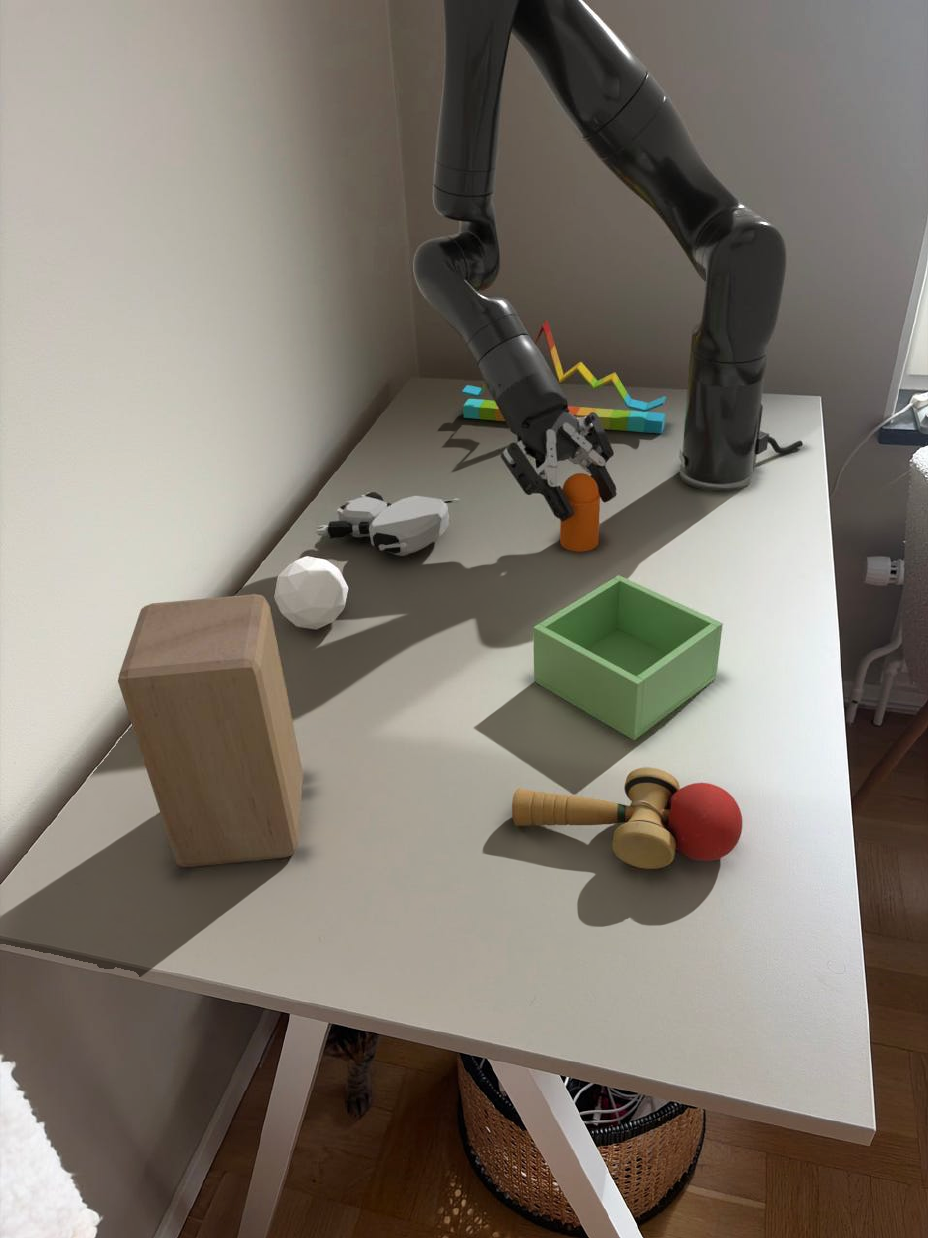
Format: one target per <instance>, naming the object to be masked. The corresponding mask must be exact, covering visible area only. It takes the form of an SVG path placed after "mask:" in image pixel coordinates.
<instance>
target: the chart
mask: <svg viewBox="0 0 928 1238" xmlns="http://www.w3.org/2000/svg"><path fill="white" fill-rule="evenodd" d="M543 333H544V336H545V340H546V343H547V346H548V349H549V353H550V356H551V361H552V363H553V366H554V369H555V373H556V376H557V381H558V384H560V383H562V382H563V381H565V380H566V379H567V378H569V377H570V376H572V375H573V374H574V373H575V372H578V374H580V376H581V377H582V378H583V379H584V380H585V381H586V382H587V384H588V385H589V386H590V387H591V388H592V389H593V390H597V389H599V388H601V387H603V386H605V385H608V384H609V383H612V385H613V386H614V388H615V390H616V392H617V393H618V394H619V396H620V397H621V400H622V401H623V403H624V405H625V406H626V407H627V409H629V410H624V409H610V408H598V407H597V408H596V407H584V406H583V407H582V406H570V405H568V409H569V411H570V412H571V414H573V415H574V416H575V417H576V418H582V417H586V416H587V415H589V414H590V413H591V412H595V413H596V414H597V415H598V417H599V420H600V422H601V424H602V426H603V429H604V430H609V431H610V430H611V431H625V432H636V433H649V434H663V431H664V429H665V423H666V412H653V410H654V409H657V408H659V407H662V406H664V404H665V402H666V398H667V395H664V396H662V397H659V398H656V399H654V400H652V401H650V402H646V401H642V400H638V399H634V398H632V397H631V396H630V395H629V393H628V391H627V390H626V388H625V387H624V385H623V382H622V381H621V380H620V378H619V377H618V375H617V373H616V372H612V373H611V374H608V375H606V376H605V377H602V378H601V379H597V378H596V377H595V376H594V374H592V373H591V371H590V370H589V368H587V367H586V366H585V364H584V363H583V362H582V361H579V362H578V363H576V364H575V365H573V367H571V368H570V369H569V370H567V371H566V372H565V373H564V371H563V368H562V364H561V361H560V357H559V354H558V351H557V348H556V343H555V341H554V337H553V334H552V331H551V327H550V324H549V321H548V320H547V319H546V320H545V322H543V325H542V326H541V328H540V331H539V333H538V335H537V337H536V340H535V341H534V343H535V345H536V346H537V347H538V345H539V342H540V340H541V338H542V336H543ZM486 388H487V386H486V384H485V382H484V383H483V385H482V387H478V386H474V385H470V384H467V385H466V386H465V387H464V388H463V389H462V390H461V394H463V395H468V396H471V397H476V398H467V400H466V401H465V402H464V404H463V405H462V412H463V414H462V415H463V418H464V419H476V420H477V419H478V420H487V421H499V422H506V421H505V419H504V417H503V416H502V414H501V412H500V410H499V408H498V407H497V405H496V403H495V401H494V400H491V399H478V398H479V397H480V396H481V395H482V393H483V392H484V391H485V389H486ZM651 411H652V412H651Z"/></svg>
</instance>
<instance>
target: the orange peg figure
mask: <svg viewBox="0 0 928 1238" xmlns="http://www.w3.org/2000/svg"><path fill="white" fill-rule="evenodd" d="M561 488H562V490H563V492H564V494H565V496H566V497H567V499H568V501H569V503H570V505H571V507H572V508H573V510H574V515H573V516H572V517H570V518H569V519H567V520H565V521H561V520H560V519H559V522H560V525H559V528H560V529H559V531H560V532H559V533H560V534H559V541H560V545H561V546H562V548H564V549H565V550H568V551H571V552H579V553H580V552H583V553H584V552H589V551H591V550H593V549H595V548H597V546H598V545H599V540H600V537H599V536H600V505H601V504H600V503H601V498H600V494H599V492H598V486H597V483H596V481H595V480H594V479H593V478H592V477H591V475H590V474H587V473H584V472H576V473H573V474H572V475H570V476H568V478H567V479H566V480H565V481H564V482H563V485H562V487H561Z"/></svg>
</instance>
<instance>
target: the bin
mask: <svg viewBox="0 0 928 1238" xmlns="http://www.w3.org/2000/svg"><path fill="white" fill-rule="evenodd" d="M532 633H533V635H532V636H533V682H535V683H536V684H537V685H539V686H541V687H543V688H544V689H546V690H548V691H549V692H551V693H553V694H554V695H556V696H558V697H560V698H561V699H563V700H564V701H566V702H568V703H570V704H571V705H573V706H575V707H576V708H579V709H580V710H582V711H583V712H585V713H587V714H588V715H589V716H591V717H594V718H595V719H597V720H598V721H600V722H602V723H603V724H605V725H607V726H609V727H610V728H612V729H614V730H615V731H617V732H619V733H621V735H624V736H626V737H627V738H629V739H630V740H632V741H636V740H637V739H638V738H640V737H641V736H642V735H644V734H645V733H646V732H647V731H649V730H650V729H652V728H654V726H656V725H657V724H658V723H659V722H661V721H662V720H663V719H665V718H666V717H668V715H670V714H671V713H672V712H674V711H676V710H677V709H679V707H681V706H682V705H683V704H685V703H686V702H687V701H688V700H690V699H691V698H692V697H693V696H695V695H696V694H697V693H699V692H700V691H702V690H703V688H705V687H706V686H708V685H709V684H711V683H712V682H713V681H714V680H716V679H717V673H718V665H719V656H720V649H721V640H722V633H723V622H720V621H719V620H717V619H714V618H712V617H710V616H708V615H706V614H704V613H702V612H699V611H697V610H695V609H694V608H690V607H689V606H687V605H684V604H682V603H680V602H678V601H676V600H674V599H671V598H669V597H667V596H665V595H663V594H661V593H658V592H656V591H653V590H651V589H650V588H647V587H645V586H643V585H641V584H639V583H637V582H635V581H633V580H630V579H628V578H626V577H624V576H622V575H620V574H617V575H616V576H615V577H613V578H612V579H610V580H608V581H606V582H605V583H603V584H602V585H600V586H599V587H597V588H595V589H594V590H591V591H590V592H588V593H587V594H585V595H583V596H582V597H580V598H579V599H577V600H576V601H573V602H572V603H570V604H569V605H567V606H566V607H564V608H562V609H561V610H559V611H557V612H556V613H555V614H552V615H551V616H549V617H548V618H546V619H545V620H543V621H541V622H539V623H537V624H536V625H534V626H533V629H532Z"/></svg>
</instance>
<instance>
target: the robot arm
mask: <svg viewBox="0 0 928 1238" xmlns="http://www.w3.org/2000/svg"><path fill="white" fill-rule="evenodd" d="M442 7H443V22H444V63H443V64H444V65H443V77H442V78H443V80H442V90H441V100H440V106H439V107H440V108H439V115H438V123H437V131H436V142H435V153H434V168H433V182H432V205H433V207H434V210H435V211H436V212H437V213H438V214H439V216H442V217H443V218H445V219H449V220H452V221H457V222H459V230H458V233H453V234H449V235H444V236H440V237H434V238H431V239H428V240H426V241H424V242H422V243H421V244H420V245H419V246H418V247H417V249H416V251H415V252H414V255H413V260H412V273H413V276H414V281H415V283H416V285H417V287H418V289H419V292H420V293H421V295H422V296H423V298H424V299H425V300H426V301H427V302H428V304H429V305H430V306H431V307H432V309H434V310H435V311H436V312H437V313H438V314H439V316H441V317H442V318H443V319H444V320H445V322H446V323H447V324H448V325H449V326H450V327H451V328H452V329H453V331H455V332H456V333H457V334H458V335H459V336H460V337H461V338H462V339H463V341H464V343H465V345H466V347H467V349H468V352H469V353H470V354H471V357H472V359H473V360H474V362H475V364H476V366H477V367H478V369H479V372H480V375H481V376H482V379H483V382H484V383H485V384H486V388H487V390H488V392H489V394H490V395H491V397H492V399H493V401H495V403H496V405H497V407H498V408H499V410H500V412H501V414H502V416H503V417H504V419H505V421H504V422H505V424H506V425H507V427H508V429H509V430H510V432H511V433H512V434H514V435H516V438H517V442H511V443H509V444H508V445H507V446H506V448H504V450H503V451H501V453H500V459H501V460H502V461H503V463H504V464H505V466H506V467H507V469H508V470H509V472H510V473H511V475H512V476H513V478H514V480H515V481H516V482H517V483H518V485H519V486H520V488H521V490H522V491H523V493H524V494H525V495H527V496H531V495H533V494H540V495H541V496H543V498H544V499H545V501H546V502H547V505H548V506H549V508H550V510H551V512H552V514H553V515H554V517H556V519H559V521H560V520H561V521H565V520H567V519H569V518H570V517H572V516H573V515H574V510H573V508H572V507H571V505H570V503H569V501H568V499H567V497H566V496H565V494H564V492H563V490H562V488H563V487H561V485H558V479H557V478H558V477H557V467H558V462H564V461H566V460H568V461H569V462H570V463H572V464H573V465H578V466H579V467H581V469H583V470H584V471H585V472H587V473H588V475H590V476H591V477H592V478H593V479H594V480H595V481H596V483H597V486H598V492H599V494H600V500H601V502H603V503H608V502H610V501H611V500H613V499H614V498H615V497H616V496H617V486H616V483H615V482H614V480H613V479H612V477H611V474H610V473H609V471H608V469H607V466H606V464H607V462H608V461H609V459H611V458H612V457H613V456H614V454H615V453H614V450H613V447H612V445H611V443H610V440H609V438H608V435H607V434H606V431H605V429H603V426H602V424H601V422H600V420H599V417H598V415H597V414H596V413H595V412H591V413H590V414H589V415H587V416H586V417H582V418H576V417H575V416H574V415H573V414H571V412H570V411H569V409H568V406H569V404H568V398H567V396H566V395H565V393H564V391H563V389H562V387H561V385H560V383H559V381H558V379H557V378H556V377H555V374H554V373H553V371H552V369H551V367H550V366H549V364H548V362H547V360H546V359H545V356H544V355H543V353H542V352H541V350H540V348H539V347H538V345H537V346H536V345H535V341H533V339H532V337H531V336H530V333H529V332H528V330H527V328H526V326H525V325H524V324H523V321H522V320H521V318H520V316H519V314H518V312H517V310H516V309H515V307H514V305H513V304H512V302H510V300H508V299H506V298H504V297H499V296H489V295H488V296H487V295H483V294H482V293H480V292H483V291H486V290H487V289H489V288H491V287H492V285H493V284H494V283H495V281H496V280H497V277H498V275H499V272H500V269H501V263H502V253H501V252H502V251H501V243H500V237H499V231H498V223H497V215H496V208H495V200H494V199H495V192H496V186H497V185H496V184H497V174H498V167H499V157H500V145H501V129H502V104H503V89H504V79H505V70H506V63H507V56H508V50H509V45H510V41H511V35H512V37H513V38H514V39H515V40H516V41H517V43H518V44H519V45H520V46H521V47H522V49H523V50H524V51H525V53H526V54H527V56H528V57H529V59H530V60H531V62H532V63H533V65H534V66H535V68H536V70H537V72H538V74H539V75H540V77H541V78H542V80H543V82H544V84H545V85H546V87H547V90H548V91H549V93H550V95H551V96H552V97H553V99H554V101H555V102H556V104H557V106H558V107H559V109H560V110H561V112H562V113H563V115H564V116H565V118H566V119H567V121H568V122H569V123H570V125H571V126H572V128H573V129H574V130H575V132H576V133H577V134H578V135H579V137H581V139H582V140H583V142H584V143H586V145H587V146H588V147H589V148H590V150H591V151H592V152H593V153H594V154H595V155H596V157H597V158H598V159H599V160H600V161H601V162H602V163H603V164H604V165H605V166H606V167H607V169H609V170H610V172H611V173H613V174H614V175H615V176H616V178H617V179H619V181H621V183H623V184H624V185H625V186H626V187H627V188H628V189H629V190H630V191H632V193H634V194H635V195H636V196H637V197H638V198H639V199H641V200H642V201H643V202H645V203H646V204H647V205H648V206H649V207H650V208H651V209H652V210H653V211H654V212H655V213H656V215H658V217H659V218H660V219H661V220H662V222H663V223H664V224H665V226H666V227H667V228H668V229H669V231H670V233H671V234H672V235H673V236H674V239H676V241H677V243H678V244H679V246H680V247H681V249H682V251H683V252H684V253H685V255H686V256H687V258H688V260H689V262H690V263H691V264H692V266H693V269H695V271H696V273H697V274H698V276H699V277H700V278H701V279H702V280H703V282H705V287H704V289H705V290H704V300H703V307H702V315H701V320H700V322H698V323H697V324H696V325H694V327H693V329H692V332H691V340H690V342H691V343H690V353H689V354H690V355H689V366H688V377H687V378H688V380H687V391H686V405H685V415H684V416H685V417H684V428H683V440H682V449H679V454H678V455H679V456H678V458H679V460H680V466H679V477H680V479H681V480H682V481H683V482H684V483H686V484H687V485H689V486H691V487H693V488H695V489H699V490H703V491H709V492H727V491H728V492H729V491H736V490H739V489H742V488H744V487H746V486H747V485H749V484H750V483H751V482H752V481H753V474H754V472H755V470H756V463H757V456H758V455H760V454H762V453H763V452H765V451H767V450H768V445H769V444H770V445H771V447H772V449H773V450H774V452H775V453H776V454H781V455H786V454H789V453H790V452H793V451H794V450H797V449H798V448H801V447H802V446H803V444H804V443H803V441H802V440H797V441H795V442H793V443H792V444H789V445H788V446H785V447H780V445H779V443H778V442H777V440H776V439H775V438H774V437H772V436H770V433H768V432H764V431H762V430H761V425H762V417H763V416H762V415H763V409H764V407H763V404H762V398H763V389H764V383H765V374H766V367H767V357H768V351H769V345H770V344H769V343H770V340H771V338H772V336H773V335H774V333H775V331H776V328H777V326H778V325H777V324H778V321H779V316H780V310H781V304H782V299H783V292H784V287H785V281H786V274H787V264H788V249H787V244H786V240H785V238H784V236H783V234H782V232H781V231H780V230H779V229H778V227H776V226H775V225H774V224H773V223H771V222H770V221H769V220H767V219H765V218H763V217H762V216H761V215H759V214H758V213H756V212H755V211H754V210H752V209H750V208H749V207H748V206H746V205H745V204H744V203H743V202H742V201H741V200H740V199H739V198H738V197H736V196H735V194H734V193H732V191H731V190H729V188H728V187H727V186H726V185H725V184H724V183H723V182H722V181H721V180H720V179H719V178H718V177H717V176H716V175H715V174H714V172H712V170H711V169H710V168H709V166H708V165H707V163H706V162H705V161H704V159H703V157H702V155H701V154H700V152H699V150H698V148H697V145H696V144H695V142H694V139H693V137H692V135H691V133H690V131H689V129H688V127H687V125H686V123H685V121H684V120H683V118H682V116H681V115H680V112H679V110H678V109H677V108H676V106H675V104H674V103H673V102H672V100H671V99H670V97H669V96H668V94H667V92H666V91H665V90H664V89H663V88H662V87H661V85H660V84H659V82H658V81H657V80H656V79H655V78H654V76H653V75H652V74H651V72H650V71H649V70H648V69H647V67H646V66H645V65H644V64H643V63H642V62H641V60H640V59H639V58H638V57H637V56H636V55H635V54H634V52H633V51H632V50H631V49H630V48H629V46H628V45H627V44H625V42H624V41H623V40H622V39H621V38H620V36H618V34H617V33H616V32H615V31H614V30H613V29H612V28H611V27H610V26H609V25H608V24H607V23H606V22H605V21H604V20H603V19H602V18H601V17H600V16H599V15H598V14H597V13H596V11H594V10H593V9H592V8H591V7H590V6H589V5H588V4H587V3H586V2H585V1H584V0H442ZM578 449H579V450H578ZM527 455H528V456H530V457H531V458H532V461H533V465H532V463H531V462H530V460H529V459H528V458H527ZM557 485H558V486H557Z"/></svg>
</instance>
